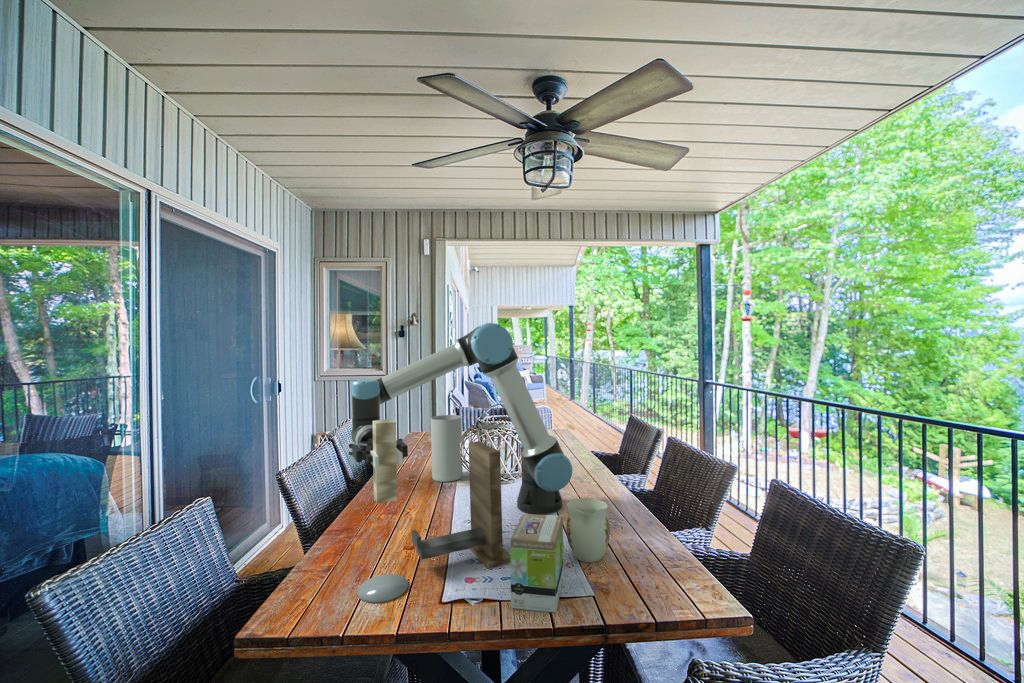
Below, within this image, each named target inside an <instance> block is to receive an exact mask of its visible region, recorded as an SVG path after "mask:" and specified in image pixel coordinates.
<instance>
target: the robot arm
mask: <svg viewBox="0 0 1024 683" xmlns="http://www.w3.org/2000/svg"><path fill="white" fill-rule="evenodd" d="M513 343H514V342H513V338H512V335H511V334H510V332H509V331H508V330H507V329H506V328H505V327H504V326H502V325H500V324H498V323H496V322H495V323H493V322H489V323H488V322H486V323H484V324H482V325H480V326H477V327H475V328H474V329H473V330H472V331H470V332H469V333H467V334H465V335H464V336H461V337H459V338H457V339H456V340H455V342H454V343H453V344H452V345H450V346H448V347H445V348H443V349H441V350H438V351H437V352H434V353H432V354H430V355H428V356H426V357H423V358H421V359H418V360H417V361H415V362H411V363H410V364H408V365H405V366H403V367H401V368H399V369H397V370H395V371H393V372H390V373H388V374H386V375H383V376H382V377H379V378H377V379H358V380H354V381H353V382H352V384H351V385H352V388H351V401H352V404H351V406H352V407H351V408H352V410H351V411H352V420H351V421H352V424H351V425H352V427H351V430H350V435H351V440H352V442H353V443H349V444H348V455H350V456H352V457H353V459H354V461H355V462H356V463H362V462H363V461H364V465H365V466H371V465H372V467H374V468H375V469H379V456H378V455H377V454H376V452H375V451H374V450H373V421H376V420H381V408H380V407H381V406H380V405H382V404H385V403H386V402H388V401H391V400H392V399H394V398H397V397H399V396H401V395H403V394H405V393H407V392H410V391H412V390H414V389H416V388H418V387H421V386H423V385H425V384H427V383H428V382H431V381H433V380H435V379H437V378H440V377H442V376H445V375H446V374H449V373H451V372H453V371H455V370H457V369H459V368H461V367H463V366H465V367H471V366H474V365H475V364H478V366H479V368H480V370H481V372H482V374H483V376H485V377H488V378H490V380H491V381H492V383H493V386H494V388H495V390H496V392H497V394H498V396H499V399H500V400H501V403H502V404H503V407H504V409H505V411H506V413H507V416H508V417H509V419H510V422H511V423H512V425H513V427H514V430H515V432H516V433H517V436H518V437H519V440H520V448H519V449H520V462H521V466H520V467H521V486H520V488H519V492H518V496H517V498H516V499H517V500H516V501H517V502H516V506H517V508H518V510H519V511H521V512H523V513H525V514H535V515H548V514H552V513H555V512H558V511H560V510H561V509H562V508H563V498H562V494H561V493H560V491H561V490H562V489H564V488H565V487H566V486H567V485H568V484H569V482H570V481H571V479H572V476H573V466H572V463H571V461H570V459H569V458H568V457H567V456H566V455H565V454H564V451H563V449H562V448H561V445H560V443H559V441H558V439H557V438H556V437H555V436H553V435H550V434H549V432H548V430H547V428H546V424H545V423H544V421H543V419H542V417H541V415H540V413H539V410H538V408H537V406H536V404H535V402H534V401H533V398H532V396H531V394H530V391H529V390H528V387H527V385H526V383H525V380H524V379H523V377H522V375H521V372H520V370H519V368H518V366H517V363H518V360H519V357H518V354H517V352H516V350H515V347H514V344H513ZM408 447H409V446H408V445H407V444H406V443H405V442H404V440H403V438H399V439H396V463H397V465H398V466H399V467H403V465H404V462H403V461H404V459H405V458H406V457H408V455H409V454H408V453H409V452H408V451H409V448H408Z"/></svg>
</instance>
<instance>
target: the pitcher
mask: <svg viewBox="0 0 1024 683" xmlns="http://www.w3.org/2000/svg"><path fill="white" fill-rule="evenodd" d="M608 505H609V504H608V503H607V502H605V501H604V500H601V499H596V498H589V497H587V498H586V497H585V498H584V497H583V498H582V497H581V498H575V499H572V500H569V501H568V502H567V504H566V507H567V510H568V511H567V512H568V516H567V520H566V527H565V528H566V529H565V530H566V537H567V542H568V545H569V548H570V550H571V552H572V554H573V555H574V556H575V558H576V559H577V560H579V561H582V562H585V563H596V562H599V561H601V560H602V558H603V557H604V555H605V554H606V552H607V550H608V547H609V543H610V537H611V536H610V534H611V530H610V527H611V526H610V522H609V519H608V516H607V513H608V508H609V506H608Z"/></svg>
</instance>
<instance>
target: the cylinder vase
mask: <svg viewBox="0 0 1024 683" xmlns="http://www.w3.org/2000/svg"><path fill="white" fill-rule="evenodd" d="M462 434H463V431H462V416H461V415H458V414H443V415H442V414H441V415H435V416H431V417H430V441H431V442H430V444H431V446H430V447H431V477H432V480H433V481H435V482H438V483H439V482H440V483H449V482H456V481H458V480H460V479H462V477H464V476H463V475H464V474H463V473H464V472H463V470H464V469H463V468H464V467H463V463H462V464H461V461H460V455H459V454H460V443H461V439H462V440H463V437H462V436H463V435H462Z"/></svg>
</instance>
